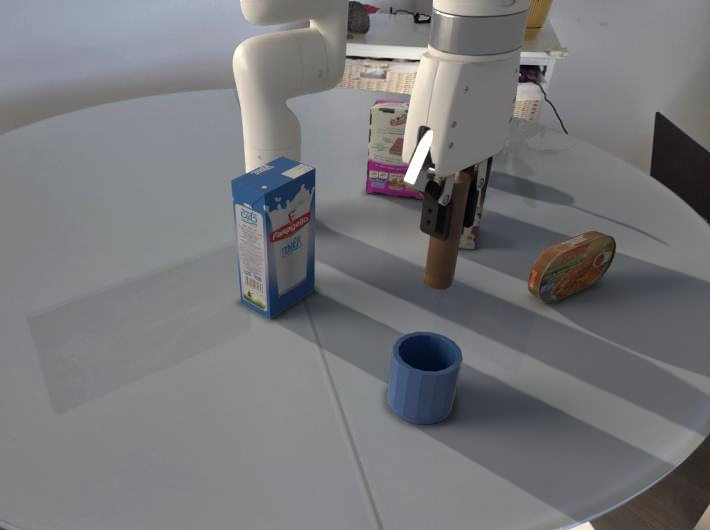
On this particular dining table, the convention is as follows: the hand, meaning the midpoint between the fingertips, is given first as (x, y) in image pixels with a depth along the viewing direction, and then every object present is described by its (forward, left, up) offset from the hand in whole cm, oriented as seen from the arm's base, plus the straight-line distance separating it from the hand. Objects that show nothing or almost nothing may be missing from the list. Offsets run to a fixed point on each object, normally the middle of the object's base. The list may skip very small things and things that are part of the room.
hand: (446, 227), depth 64 cm
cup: (0, 0, -24) cm, 24 cm away
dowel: (0, 0, -7) cm, 7 cm away
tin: (-2, +34, -24) cm, 41 cm away
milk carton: (-29, +1, -24) cm, 37 cm away
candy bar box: (-41, +40, -24) cm, 62 cm away
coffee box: (-23, +35, -24) cm, 48 cm away
